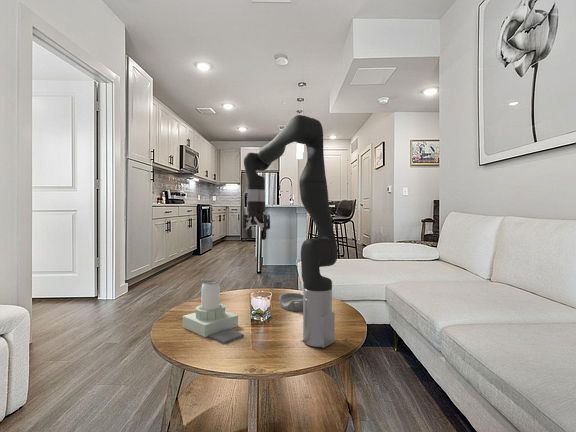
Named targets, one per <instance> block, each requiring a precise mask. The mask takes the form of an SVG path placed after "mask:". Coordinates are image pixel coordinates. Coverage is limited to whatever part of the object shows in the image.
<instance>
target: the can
mask: <svg viewBox="0 0 576 432" xmlns="http://www.w3.org/2000/svg"><path fill="white" fill-rule="evenodd" d="M220 287H221V286H220V284H219V281H217V280H205V281H203V282H202V285H201V291H200V293H201V294H200V295H201V297H200V298H201V301H200V302H201V304H200V305H201V310H206V311H210V310H217V309H220V304H221V288H220Z"/></svg>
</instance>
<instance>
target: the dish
mask: <svg viewBox="0 0 576 432" xmlns="http://www.w3.org/2000/svg"><path fill="white" fill-rule="evenodd" d="M279 306H280V308H281V309H284V310H285V311H290V312H303V294H301V292H286V293H282V294H280V295H279Z"/></svg>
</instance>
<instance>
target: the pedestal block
mask: <svg viewBox="0 0 576 432" xmlns="http://www.w3.org/2000/svg"><path fill="white" fill-rule="evenodd" d="M237 327H239V315H238V314H236V313H233V312H230V311H228V310H226V305H225V304H222V303H220V309H217V310H210V311H206V310H201V304H200V305H197V306H196V307H195V312H191V313H189V314H186V315H182V328H183V329H186V330H188V331H190V332H192V333H195V334H197V335H199V336H201V337H203V338H207V337H209V335H210V334H213V333H216V332H219V331H222V330H225V329H228V328H229V329H234V328H237Z"/></svg>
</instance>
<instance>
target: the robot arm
mask: <svg viewBox="0 0 576 432" xmlns="http://www.w3.org/2000/svg"><path fill="white" fill-rule="evenodd" d="M292 143H297V144H301V145H305V146H306V153H307V160H306V163H305V166H304V168H303V170H302V172H301V175H300V177H299V180H298V181H299V194H300V200H301V203H302V205H303V207H304V209H305V210H306V212H307V213H308V215H309V216H310V217H311V220H312V221H313V223H314V225H315V228H316V231H317V232H316V233H317V238H307V239H305V240H304V241H303V242H302V244H301V246H300V247H301V249H300V264H301V265H300V267H301V279H302V283H303V285H302V286H303V291H302V292H303V294H302V295H303V311H302V319H303V321H302V324H303V327H302V330H303V333H302V335H303V336H302V337H303V338H302V341H303V342H302V343H304V344H306V345H307V346H311V347H315V348H326V347H328V346H330V345H332V344H334V343H335V342H336V341H335V335H336V333H335V331H336V329H335V325H336V324H335V321H336V319H335V318H336V317H335V316H336V315H335V312H334V311H333V281H332V279H331V278H329V277H327V276H323V275H322V274H321V271H320V268H321V267H322V268H323V267H331V266H333V265H335V264H336V262H337V260H338V253H339V252H338V244H337V240H336V235H335V232H334V231H335V230H334V227H333V222H332V221H333V220H332V216H331V210H330V201H329V192H328V191H329V188H328V184H327V176H326V170H325V169H326V166H325V157H324V156H325V155H324V152H325V151H324V129H323V126H322V122H321V121H320V120H318V119H316V118H314V117H310V116H306V115H303V114H296V115H295V116H294V117H292V118H291V119H290V120H289V121H288V122H287V124H286V125H284V126H283V128H282V129H281V130H280V131H279V132H278V133H277V135H276V136H275V137H273V139H272V140H271V141H268V143H266V144H265V145H263V146H262V147H261V148H260V149H259V150H258V153H257V152H248V153H246V154H245V156H244V158H243V165H244V169H245V174H246V177H247V194H246V195H247V197H246V198H247V199H246V200H247V201H246V202H247V204H246V207H247V210H246V211H247V213H248V214H243V219H242V222H243V223H242V228H243V229H245V230H246V239H249V240H251V239H253V238H252V237H253V230H252V229H253V227H255V225H256V226H258V227H259V229H260V240H261V241H264V240H265V241H266V238H267V231H268V230H270V229H271V216H270V214H265V212H266V191H265V190H266V189H265V188H266V187H265V185H266V184H265V183H266V181H265V180H266V179H265V178H264V177H263V176H262V175H260V174H258V172H257V171H259V172H260V171H267V170H268V169H269V167H270V165H271V164H272V163H273V162H274V161H277V160H278V159H280V158H281V157H282V156H283V155H284V153H285V150H286V146H287V145H289V144H292Z"/></svg>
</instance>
